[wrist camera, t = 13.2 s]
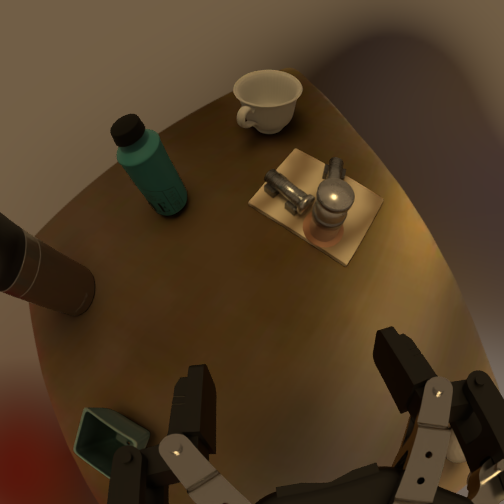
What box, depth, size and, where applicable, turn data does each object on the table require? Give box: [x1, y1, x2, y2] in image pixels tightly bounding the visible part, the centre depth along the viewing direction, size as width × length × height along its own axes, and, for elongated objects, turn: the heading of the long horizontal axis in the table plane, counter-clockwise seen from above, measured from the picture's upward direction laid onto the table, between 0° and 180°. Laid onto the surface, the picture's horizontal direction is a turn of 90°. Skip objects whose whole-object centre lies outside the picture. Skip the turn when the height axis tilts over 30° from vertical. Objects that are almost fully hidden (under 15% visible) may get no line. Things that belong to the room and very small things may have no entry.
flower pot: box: [73, 408, 150, 479], centre depth 28 cm, size 9×9×9 cm
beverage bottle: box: [111, 114, 187, 216], centre depth 36 cm, size 6×7×20 cm
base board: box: [248, 148, 384, 267], centre depth 43 cm, size 18×14×1 cm
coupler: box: [309, 178, 355, 242], centre depth 36 cm, size 5×5×10 cm
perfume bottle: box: [446, 429, 471, 485], centre depth 21 cm, size 8×10×12 cm
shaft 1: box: [264, 169, 316, 216], centre depth 41 cm, size 8×4×4 cm, turn 43°
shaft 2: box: [322, 157, 346, 181], centre depth 42 cm, size 8×4×4 cm, turn 163°
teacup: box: [233, 70, 302, 134], centre depth 46 cm, size 12×15×10 cm
